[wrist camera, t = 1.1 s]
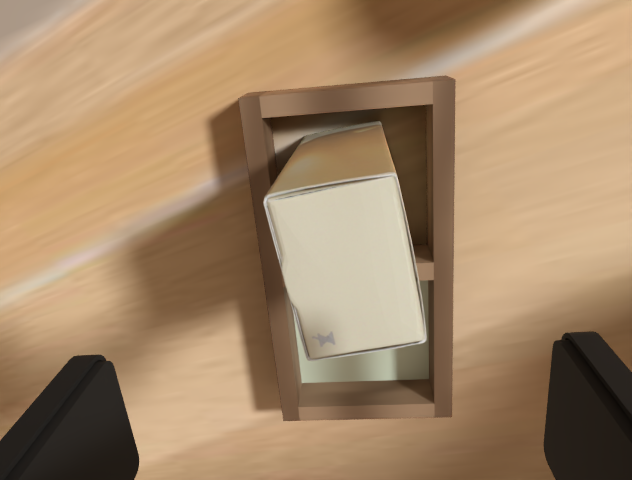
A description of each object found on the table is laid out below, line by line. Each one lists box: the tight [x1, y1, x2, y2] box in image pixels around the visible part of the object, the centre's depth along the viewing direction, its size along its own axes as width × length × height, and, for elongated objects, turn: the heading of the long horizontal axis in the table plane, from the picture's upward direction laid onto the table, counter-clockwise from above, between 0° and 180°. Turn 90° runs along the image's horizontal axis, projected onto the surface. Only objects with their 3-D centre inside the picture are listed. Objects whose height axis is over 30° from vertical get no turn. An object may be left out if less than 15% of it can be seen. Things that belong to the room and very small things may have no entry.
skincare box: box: [263, 121, 427, 361], centre depth 22 cm, size 6×4×12 cm
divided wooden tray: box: [238, 76, 455, 421], centre depth 28 cm, size 10×19×2 cm, turn 5°
